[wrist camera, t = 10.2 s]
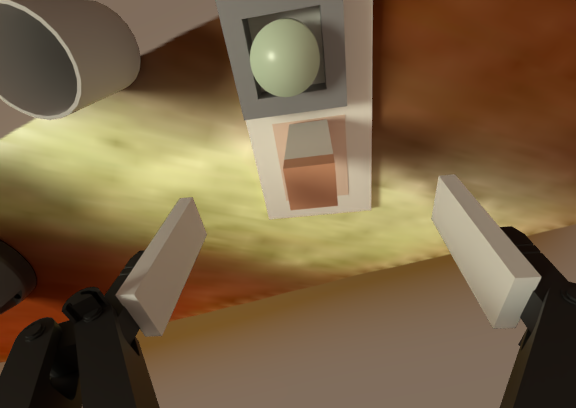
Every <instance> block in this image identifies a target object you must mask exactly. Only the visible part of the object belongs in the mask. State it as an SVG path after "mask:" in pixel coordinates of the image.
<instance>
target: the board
mask: <svg viewBox="0 0 576 408" xmlns="http://www.w3.org/2000/svg"><path fill="white" fill-rule="evenodd" d="M215 1H216V5H217V9H218V13H219V18H220V22H221V26H222V30H223V34H224V38H225V43H226V47H227V51H228V55H229V59H230V63H231V67H232V72H233V76H234V80H235V84H236V88H237V92H238V96H239V101H240V105H241V109H242V113H243V117H244V120H246V124H247V128H248V132H249V136H250V140H251V145H252V149H253V153H254V157H255V161H256V166H257V170H258V174H259V178H260V182H261V187H262V191H263V195H264V199H265V203H266V208H267V212H268V216H269V219H279V218H290V217H301V216H312V215H323V214H334V213H345V212H356V211H367V210H371V167H372V43H373V0H215ZM281 18H293V19H296V20H299V21H301V22H303V23H304V24H305V25H307V26H308V27H309V29H310V30H311V31H312V32H313V34H314V36H315V38H316V41H317V45H318V48H319V53H320V65H319V70H318V73H317V76H316V78H315V80H314V81H313V83H312V84H311V85H310V86H309V87H308V88H307V89H306V90H305V91H303V92H302V93H300V94H298V95H295V96H292V97H279V96H275V95H273V94H271V93H269V92H267V91H266V90H264V89H263V88H262V87H261V86H260V85H259V83H258V82H257V81H256V79H255V77H254V75H253V72H252V69H251V65H250V51H251V46H252V43H253V41H254V39H255V37H256V35H257V34H258V33H259V31H260V30H261V29H262V28H264V27H265V26H266V25H268V24H269V23H271V22H273V21H275V20H277V19H281ZM322 119H323V120H326V119H327V122H328V127H329V133H330V138H331V144H332V149H333V155H334V161H335V171H336V185H337V199H338V206H331V207H321V208H310V209H300V210H290V205H289V199H288V194H287V188H286V183H285V177H284V172H283V165H284V158H285V151H286V143H287V136H288V129H289V124H294V123H299V122H307V121H314V120H322Z"/></svg>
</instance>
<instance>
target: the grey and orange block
mask: <svg viewBox="0 0 576 408" xmlns="http://www.w3.org/2000/svg"><path fill="white" fill-rule="evenodd" d="M283 172H284V177H285V183H286V188H287V194H288V199H289V205H290V210H300V209H310V208H321V207H331V206H338V199H337V185H336V171H335V161H334V155H333V149H332V144H331V138H330V133H329V127H328V122H327V119H326V120H323V119H322V120H314V121H307V122H299V123H294V124H289V129H288V136H287V143H286V151H285V158H284V165H283Z"/></svg>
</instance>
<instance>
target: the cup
mask: <svg viewBox="0 0 576 408" xmlns="http://www.w3.org/2000/svg"><path fill="white" fill-rule="evenodd" d="M140 61H141V59H140V53H139V48H138V45H137V42H136V39H135V37H134V35H133V33H132V32H131V30H130V29H129V27H128V25H127V24H126V23H125V22H124V21H123V20H122V19H121V17H120V16H119V15H118V14H117V13H115V12H114V11H112V10H111V9H110V8H108V7H107V6H105V5H103V4H100V3H98V2H96V1H90V0H0V99H1V100H2V101H4V102H5V103H6V104H8V105H9V106H11V107H13V108H14V109H16V110H18V111H20V112H22V113H24V114H27V115H29V116H32V117H35V118H40V119H47V120H52V119H59V118H63V117H65V116H67V115H69V114H72V113H74V112H76V111H78V110H80V109H82V108H84V107H86V106H89V105H91V104H93V103H95V102H97V101H99V100H101V99H104V98H106V97H108V96H110V95H112V94H114V93H116V92H118V91H120V90H122V89H124V88H126V87H128V86H129V85H131V84H132V82H133V81H134V80H135V79H136V78H137V75H138V73H139V70H140Z"/></svg>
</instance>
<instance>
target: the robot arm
mask: <svg viewBox="0 0 576 408" xmlns="http://www.w3.org/2000/svg"><path fill="white" fill-rule="evenodd" d="M431 219H432V221H433V223H434V225H435V226H436V228H437V230H438V232H439V234H440V235H441V237H442V239H443V241H444V242H445V244H446V246H447V248H448V250H449V251H450V253H451V255H452V256H453V258H454V260H455V262H456V264H457V266H458V267H459V269H460V271H461V273H462V274H463V276H464V278H465V280H466V282H467V283H468V285H469V286H470V289H471V290H472V292H473V294H474V296H475V298H476V299H477V301H478V303H479V305H480V306H481V308H482V310H483V312H484V313H485V315H486V317H487V319H488V321H489V322H490V324H491V326H492V328H494V329H495V328H496V329H497V328H516V326H517V324H518V322H519V320H520V318H521V319H522V321H523V322H524V324H525V325H526V327H527V330H526V332H525V333H524V335H523V337H522V339H521V341H520V343H519V346H520V349H519V352H518V355H517V358H516V361H515V364H514V367H513V370H512V372H511V375H510V378H509V382H508V384H507V387H506V391H505V394H504V396H503V399H502V402H501V405H500V408H576V283H572V282H568V281H567V279H566V278H565V277H564V276H563V275H562V274H561V273H560V272H559V271H558V270H557V269H556V268H555V266H554V265H553V264H552V263H551V262H550V261H549V260H548V259H547V258H546V257H545V256H544V255H543V254H542V253H540V250H539V249H538V248H537V247H536V246H535V245H533V243H532V242H531V241H530V240H529V239H528V237H527V236H526V235H525V234H523V233H522V232H520V231H518V230H517V229H515V228H513V227H512V226H510V227H499V226H498V225H497V224H496V222H495V221H494V220H493V219H492V218H491V216H490V215H489V214H488V213H487V212H486V211H485V209H484V208H483V207H482V206H481V205H480V203H479V202H478V201H477V200H476V199H475V198H474V196H473V195H472V194H471V193H470V192H469V190H468V189H467V188H466V187H465V186H464V185H463V183H462V182H461V181H460V180H459V179H458V177H457V176H456V175H455V174H453V175H442V176H439V177H438V183H437V189H436V195H435V200H434V206H433V212H432V218H431ZM206 235H207V233H206V231H205V228H204V226H203V223H202V220H201V218H200V215H199V213H198V210H197V207H196V205H195V202H194V200H193V197H189V198H180V199H179V200H178V202H177V203H176V205H175V206H174V208H173V209H172V211H171V212H170V214H169V215H168V217H167V218H166V220H165V221H164V223H163V224H162V226H161V227H160V229H159V230H158V232H157V233H156V235H155V236H154V238H153V239H152V241H151V242H150V244H149V245H148V247H147V248H146V250H144V251H139V252H138V253H137V254H135V255H134V256H133V257H132V258H131V259H130V260H129V261H128V263H127V264H126V266H125V269H123V270H122V271H121V273H120V276H118V277H117V279H116V280H115V281H114V283H113V284H112V286H111V287H110V289H109V290H108V291H107V293H106V294H105V296H104V295H103V294H102V292H101V291H100V290H99V289H98V288H96V287H89V288H85V289H83V290H80V291H79V292H77V293H75V294H74V295H72V296H71V297H70V298H69V299H68V300H67V301H66V303H65V304H64V305H63V308H62V312H63V313H64V314H65V315H66V316H67V317H68V318H69V319H70V320H69V321H66V322H62V323H59V324H57V323H56V322H55V321H54V320H53V319H52V318H49V317H46V318H42V319H39V320H37V321H35V322H33V323H31V324H30V325H28V326H27V327H26V328H25V329H24V330H23V331H22V332H21V333H20V334H19V335H18V336H17V338H16V340H15V342H14V344H13V346H12V349H11V351H10V354H9V356H8V358H7V361H6V363H5V365H4V368H3V370H2V372H1V375H0V408H82V406H83V408H159V404H158V401H157V398H156V395H155V392H154V389H153V385H152V382H151V379H150V376H149V373H148V370H147V367H146V363H145V360H144V357H143V354H142V351H141V347H140V344H139V341H138V340H137V338H136V337H135V336H136V334H137V332H138V331H139V329H141V331H142V332H143V334H144V335H145V336H162V335H163V332H164V330H165V328H166V326H167V323H168V321H169V319H170V317H171V314H172V312H173V310H174V308H175V305H176V303H177V301H178V299H179V296H180V294H181V292H182V290H183V287H184V285H185V283H186V281H187V278H188V276H189V274H190V272H191V269H192V267H193V265H194V263H195V260H196V258H197V256H198V253H199V251H200V249H201V247H202V244H203V242H204V240H205V238H206ZM35 286H36V276H35V273H34V271H33V269H32V267H31V266H30V265H29V263H28V262H27V261H26V260H25V259H24V258H23V257H22V256H21V255H20V254H19V253H18V252H16V251H15V250H14V249H12V248H11V247H9V246H8V245H6V244H5V243H3V242H2V241H0V314H2V313H4V312H5V311H7V310H9V309H10V308H12V307H14V306H15V305H17V304H19V303H20V302H21V301H23V300H24V299H25V298H26V297H27V296H28V295H29V294H30V293H31V291H32V290H33V289H34V288H35Z"/></svg>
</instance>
